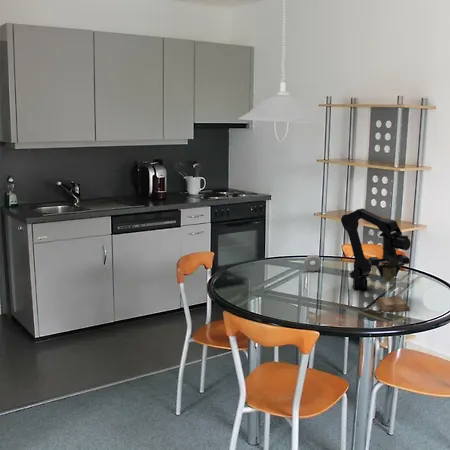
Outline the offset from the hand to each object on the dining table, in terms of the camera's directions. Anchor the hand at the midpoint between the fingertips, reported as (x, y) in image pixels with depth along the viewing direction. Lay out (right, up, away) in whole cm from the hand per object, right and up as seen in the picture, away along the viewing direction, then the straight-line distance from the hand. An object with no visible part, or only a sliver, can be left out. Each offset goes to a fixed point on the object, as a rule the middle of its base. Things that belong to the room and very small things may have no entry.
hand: (388, 277), depth 282 cm
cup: (0, -2, 0) cm, 2 cm away
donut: (-30, -1, +48) cm, 57 cm away
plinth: (-1, -13, -10) cm, 16 cm away
